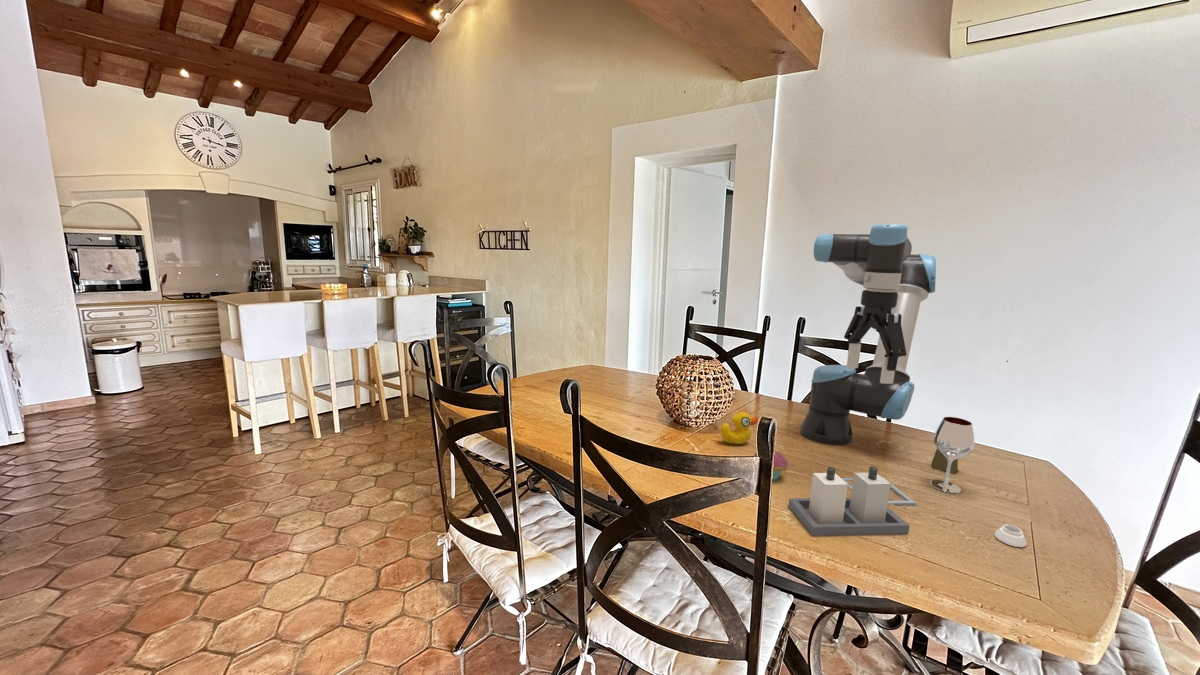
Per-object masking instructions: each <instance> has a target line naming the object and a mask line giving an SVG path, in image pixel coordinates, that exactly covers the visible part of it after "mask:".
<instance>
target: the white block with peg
mask: <svg viewBox="0 0 1200 675" xmlns="http://www.w3.org/2000/svg"><path fill="white" fill-rule="evenodd" d="M878 472H879V468H878V467H876V466H872V465H871V466H869V469H868V472H854V473H853V477H852V478H853V480H852V485H851V486H852V490H851V494H850V498H851V500H850V507H849V512H850V513H851V514H852V515H853V516H854V517H855V518H856V519H857V520H858V521H859V522H860V523H861V524H862V523H885V518H886V511H887V507H888V506H889V504H888V501H889V498H890V490H891V489H890V486H891V484H892V483H891V482H890V481H888V480H887V479H886V478H885V477H883V476H881V475H879V474H878ZM886 480H887V481H886Z"/></svg>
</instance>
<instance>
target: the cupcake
mask: <svg viewBox="0 0 1200 675" xmlns="http://www.w3.org/2000/svg"><path fill="white" fill-rule="evenodd" d="M774 451H775V455H774V467H773V480H772V481H776V480H778V479H779V478H780V475H781V473H782V472H783V471H786V470H787V469H788V461H787V459H786V458H785V456H784V455H783V454H782V453H780V452H777V451H776V450H774ZM753 456H757V452H756V453H754V455H753Z"/></svg>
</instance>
